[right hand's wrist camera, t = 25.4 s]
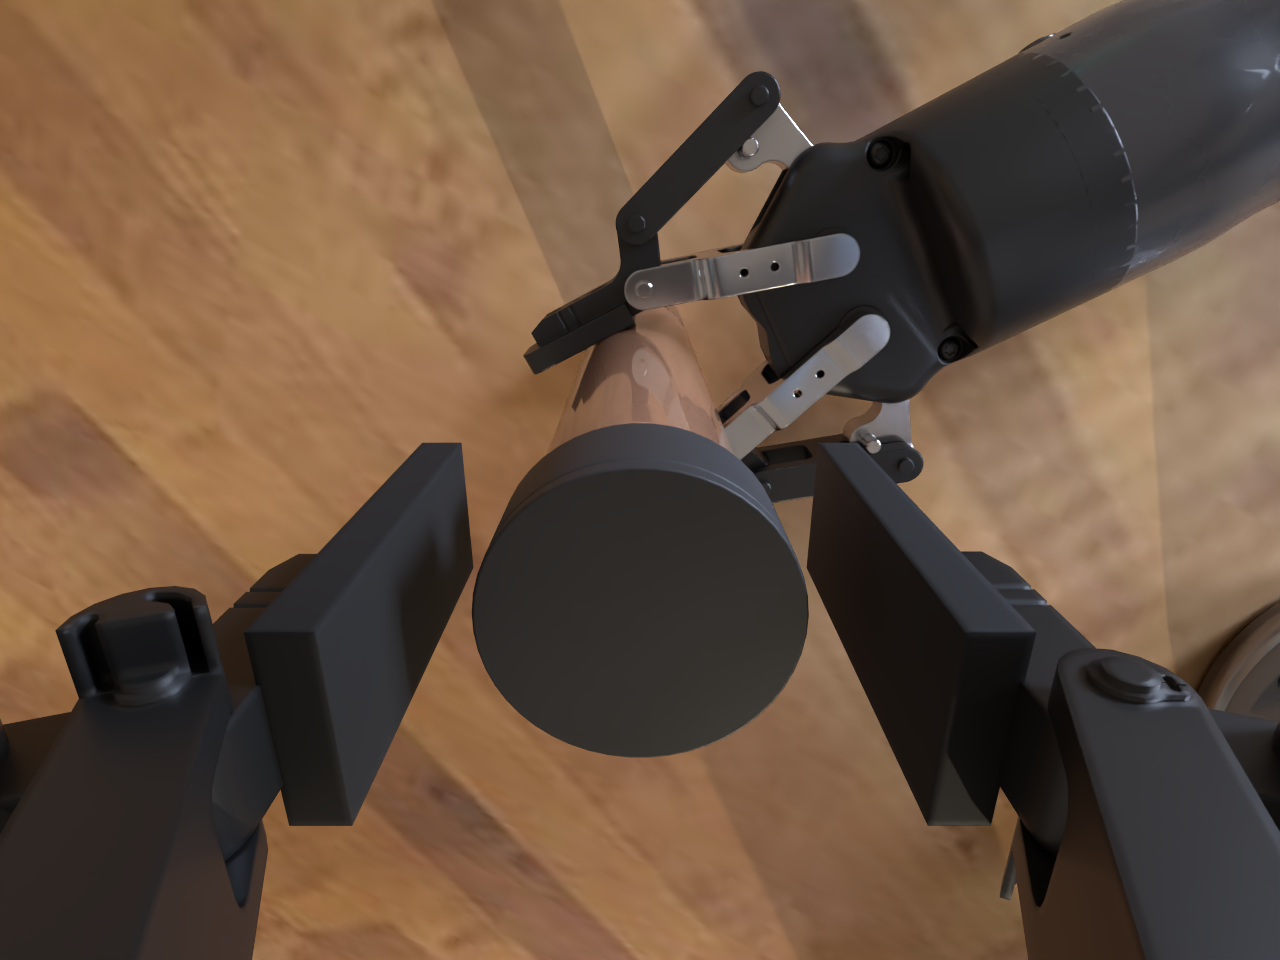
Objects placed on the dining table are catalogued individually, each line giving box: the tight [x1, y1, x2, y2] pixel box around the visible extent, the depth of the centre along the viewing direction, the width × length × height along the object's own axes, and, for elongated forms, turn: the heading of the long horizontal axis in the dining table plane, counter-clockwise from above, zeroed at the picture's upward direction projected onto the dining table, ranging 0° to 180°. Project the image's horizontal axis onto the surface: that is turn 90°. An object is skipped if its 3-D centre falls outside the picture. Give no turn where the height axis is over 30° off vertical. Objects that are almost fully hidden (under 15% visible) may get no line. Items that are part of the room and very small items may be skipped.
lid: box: [472, 423, 809, 757], centre depth 11 cm, size 5×5×2 cm
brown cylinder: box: [546, 307, 734, 455], centre depth 20 cm, size 4×4×20 cm
